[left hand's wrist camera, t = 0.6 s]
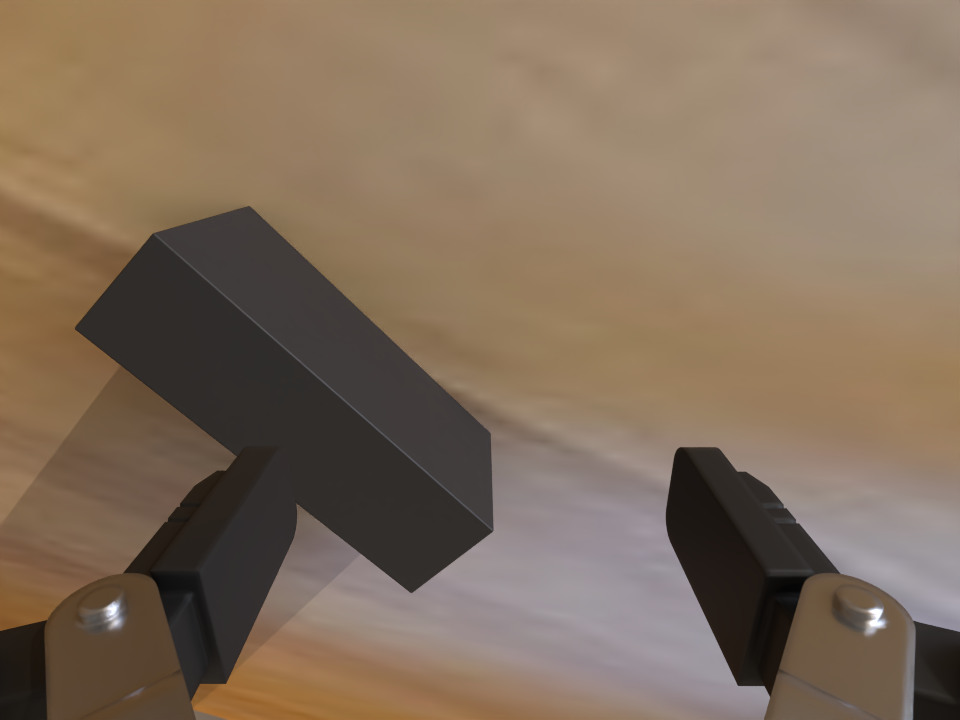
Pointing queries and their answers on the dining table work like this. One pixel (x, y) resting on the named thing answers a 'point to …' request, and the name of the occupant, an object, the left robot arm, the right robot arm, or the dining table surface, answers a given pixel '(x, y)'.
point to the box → (302, 388)
